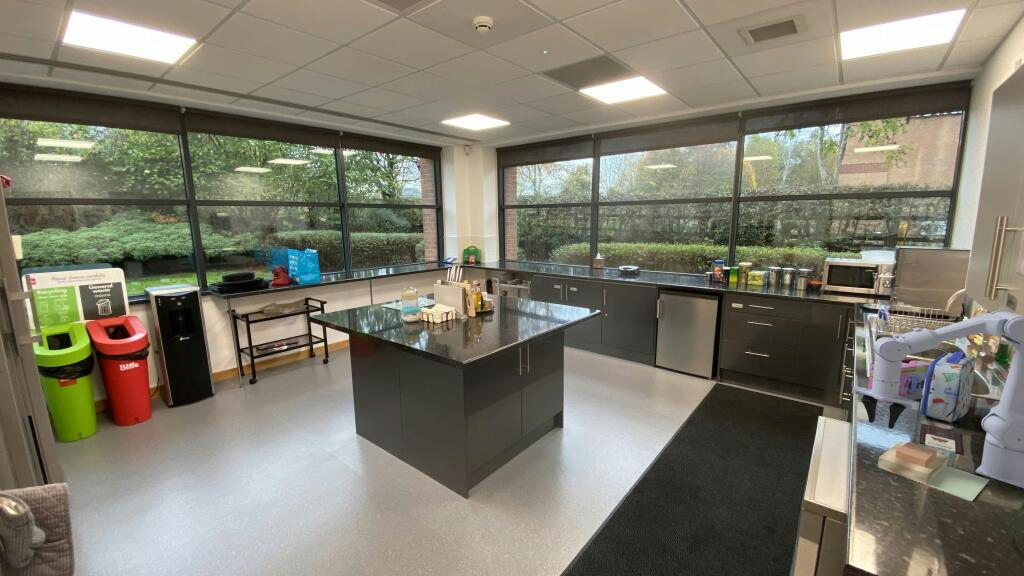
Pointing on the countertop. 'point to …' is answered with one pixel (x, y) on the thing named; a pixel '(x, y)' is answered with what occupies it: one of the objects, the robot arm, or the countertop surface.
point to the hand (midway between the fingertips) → (881, 424)
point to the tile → (916, 454)
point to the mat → (958, 483)
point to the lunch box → (948, 387)
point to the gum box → (908, 378)
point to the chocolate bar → (941, 438)
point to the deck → (911, 466)
